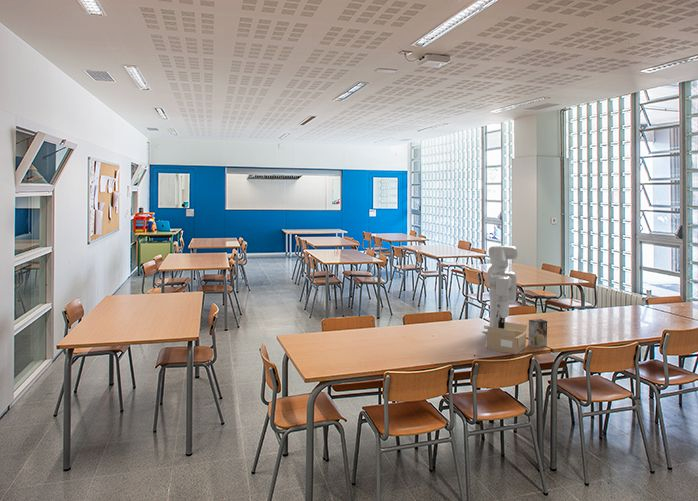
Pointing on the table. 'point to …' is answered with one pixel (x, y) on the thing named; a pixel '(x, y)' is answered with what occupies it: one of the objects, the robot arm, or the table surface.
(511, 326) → the far flap
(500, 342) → the carton
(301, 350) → the table surface
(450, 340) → the table surface
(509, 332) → the near flap
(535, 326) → the coffee box
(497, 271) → the robot arm
